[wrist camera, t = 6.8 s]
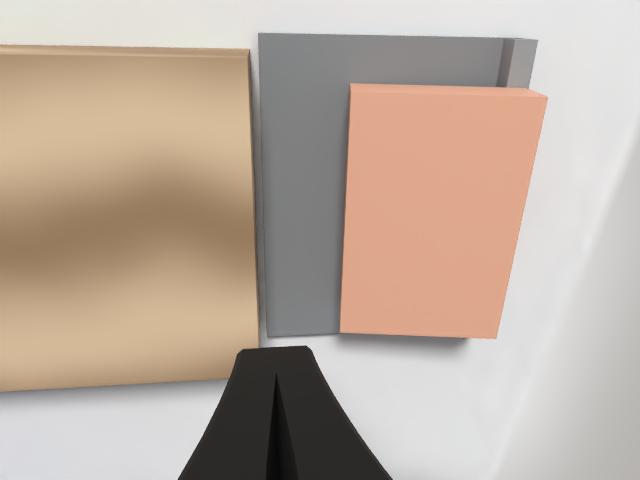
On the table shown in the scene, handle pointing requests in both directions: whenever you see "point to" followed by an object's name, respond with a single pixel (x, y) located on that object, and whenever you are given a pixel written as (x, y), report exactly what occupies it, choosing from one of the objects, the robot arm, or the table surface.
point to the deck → (125, 215)
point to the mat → (340, 146)
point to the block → (434, 206)
